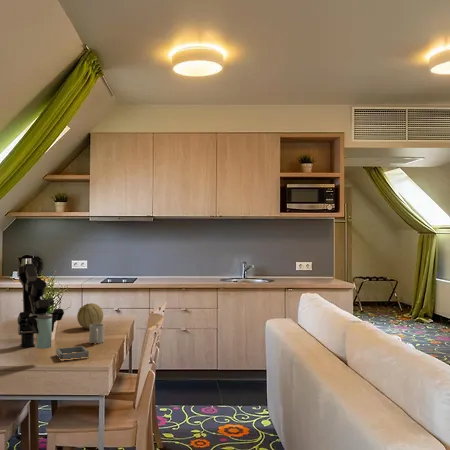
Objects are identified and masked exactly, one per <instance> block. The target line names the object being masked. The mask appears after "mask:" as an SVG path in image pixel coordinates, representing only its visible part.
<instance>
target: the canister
mask: <svg viewBox="0 0 450 450" xmlns="http://www.w3.org/2000/svg"><path fill="white" fill-rule="evenodd" d="M49 313H50V312H47V313H43V314H38V315H37V319H36V320H37V328H38V334H37V333H36V344H35V347H36V349H40V350H44V349H50V348H52V336H53V335H52V333H53V332H52V314H49Z"/></svg>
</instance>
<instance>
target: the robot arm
mask: <svg viewBox="0 0 450 450" xmlns="http://www.w3.org/2000/svg"><path fill="white" fill-rule="evenodd" d="M16 271H17V274H16V275H17V277H18V281H19V283H20V284H21V285H22V311H20V313H19V314H18V317H17V320H16V321H17V325H18V327H17V334H18V335H19V336H20V337H21V339H20V340H21V341H20V342H21V343H20V344H19V347H20V348H21V347H24V348H32V347H36V344H35V342H34V341H35V336H34V335H35V334H36V335H37V334H38V328H37V315H38V314H43V313H49V314H52V333H54V327H55V323H56V322H57V321H61V320H62V319H63V316H64V314H65V311H64V308H54V309H53V310H52V312H49V310H50V309H49V308H50V307H52V306H54V304H55V301H54V299H53V297H48V299H45V298H44V295H45V292H46V288H47V283H46V281H45V280H43V279H42V277H38V275H37V266H36V264H35V263H24V264H23V265H21V266H19V267H18V268H17V270H16Z"/></svg>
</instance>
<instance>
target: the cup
mask: <svg viewBox="0 0 450 450" xmlns="http://www.w3.org/2000/svg"><path fill="white" fill-rule="evenodd" d="M88 336H89V338H88V340H89V344H91V343H101V344H103V343H104V341H105V324H104V323H101V324H91V325H90V329H89V335H88ZM102 342H103V343H102Z"/></svg>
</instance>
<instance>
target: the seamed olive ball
mask: <svg viewBox="0 0 450 450" xmlns="http://www.w3.org/2000/svg"><path fill="white" fill-rule="evenodd" d="M76 319H77V322H78V325H80V326H81V327H82V328H84V329H87V330H90V325H91V324H102V322H103V320H104V311H103V309H102V307H101V306H100V305H98V304H96V303H92V302H89V303H86V304H84V305H82V306H81V307H80V308H79V309H78V311H77V315H76Z"/></svg>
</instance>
